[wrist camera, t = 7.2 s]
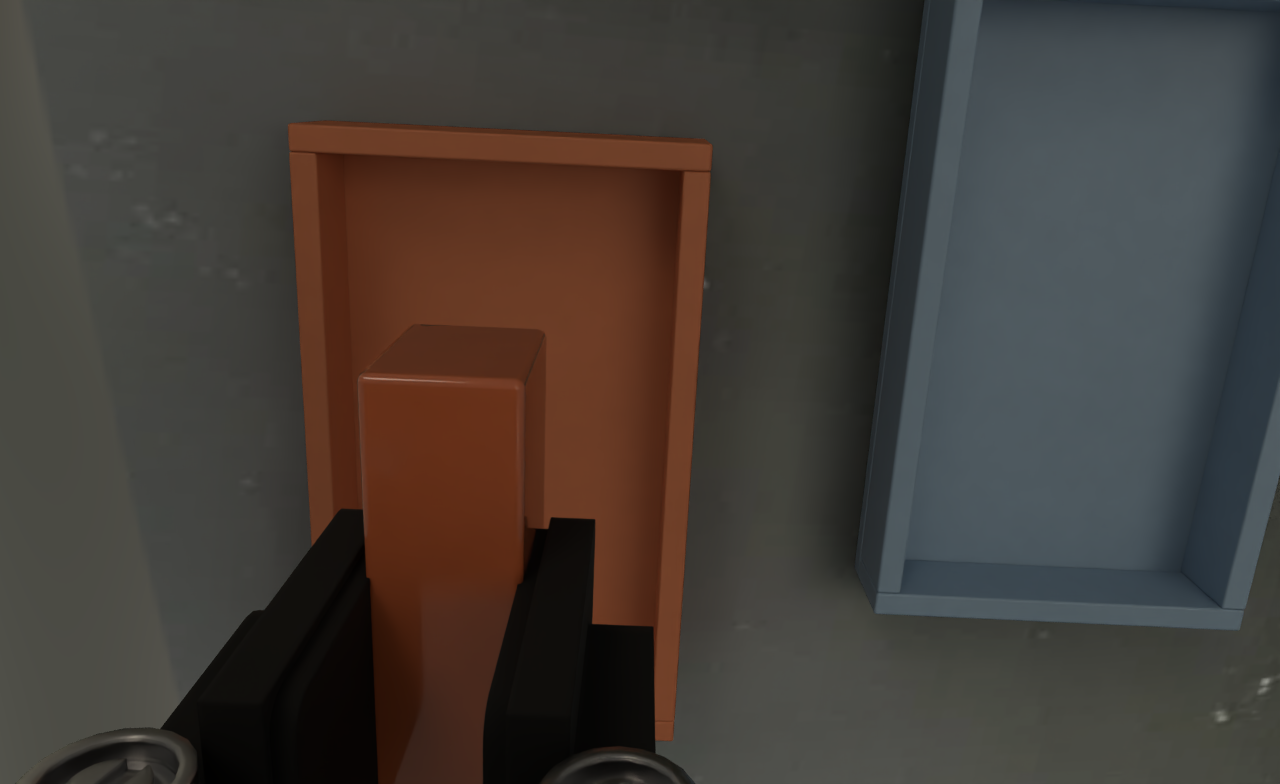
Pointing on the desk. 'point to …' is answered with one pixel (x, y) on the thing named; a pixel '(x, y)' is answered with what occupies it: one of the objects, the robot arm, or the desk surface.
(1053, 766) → the desk surface
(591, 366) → the terracotta tray
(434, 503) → the terracotta spoon
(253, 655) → the robot arm
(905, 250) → the blue tray
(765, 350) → the desk surface
